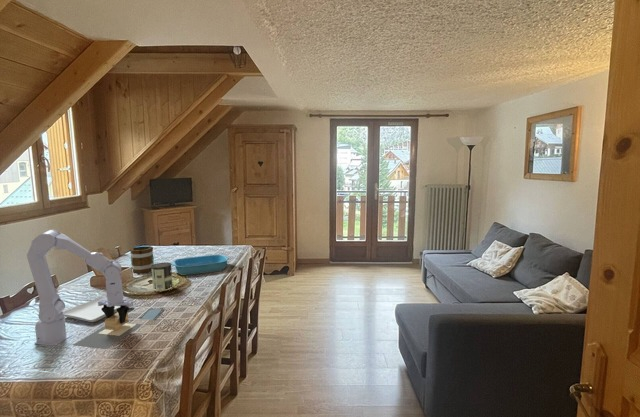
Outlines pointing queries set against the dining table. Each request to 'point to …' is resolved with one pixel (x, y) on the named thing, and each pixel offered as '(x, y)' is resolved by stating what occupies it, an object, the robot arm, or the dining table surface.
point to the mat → (107, 336)
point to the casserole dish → (200, 264)
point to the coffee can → (162, 276)
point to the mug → (142, 259)
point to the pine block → (114, 322)
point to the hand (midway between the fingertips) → (117, 322)
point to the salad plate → (88, 311)
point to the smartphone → (152, 314)
